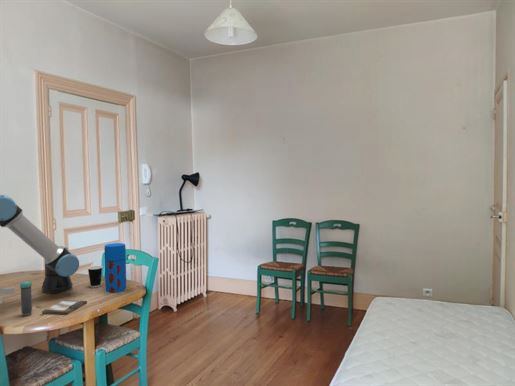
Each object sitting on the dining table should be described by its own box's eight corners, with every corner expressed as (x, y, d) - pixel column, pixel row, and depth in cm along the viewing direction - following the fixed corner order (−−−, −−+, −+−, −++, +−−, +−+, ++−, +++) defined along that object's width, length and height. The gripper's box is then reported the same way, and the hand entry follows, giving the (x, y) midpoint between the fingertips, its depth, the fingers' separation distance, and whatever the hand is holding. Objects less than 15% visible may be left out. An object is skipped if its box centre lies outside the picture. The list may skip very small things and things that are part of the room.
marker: (26, 312, 176) (24, 280, 175) (34, 313, 175) (33, 280, 175) (18, 316, 172) (17, 283, 171) (27, 316, 171) (26, 283, 170)
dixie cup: (88, 285, 220) (87, 266, 220) (103, 283, 223) (102, 265, 223) (87, 289, 213) (87, 269, 213) (103, 287, 216) (102, 268, 216)
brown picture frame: (64, 302, 190) (64, 297, 190) (86, 303, 189) (86, 298, 189) (42, 313, 175) (42, 309, 175) (66, 314, 173) (66, 310, 173)
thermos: (112, 286, 218) (111, 242, 216) (130, 287, 215) (129, 243, 214) (101, 292, 207) (100, 246, 206) (119, 293, 205) (118, 246, 204)
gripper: (-32, 298, 179) (19, 294, 184) (-64, 317, 155) (-5, 312, 159) (-32, 282, 179) (18, 279, 183) (-64, 298, 154) (-5, 295, 159)
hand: (8, 294), depth 171 cm, fingers open, 13 cm apart
